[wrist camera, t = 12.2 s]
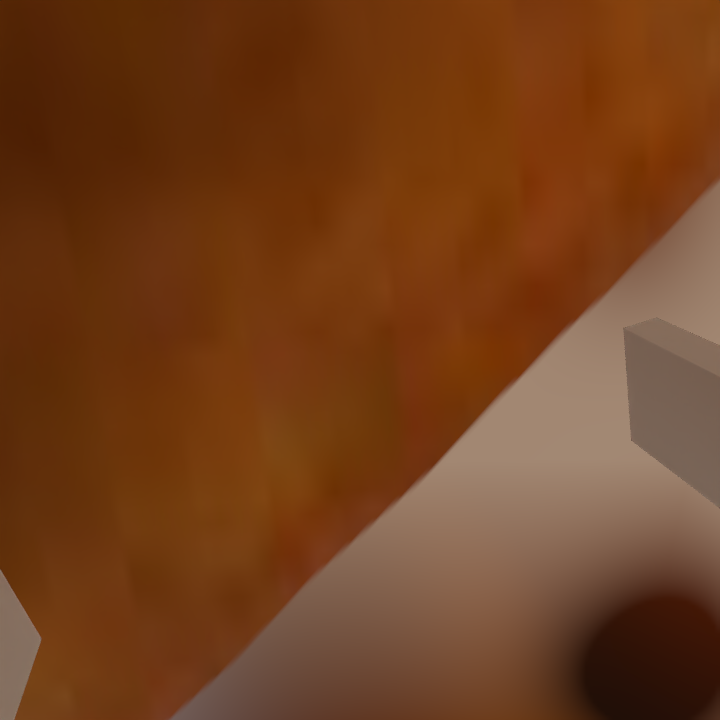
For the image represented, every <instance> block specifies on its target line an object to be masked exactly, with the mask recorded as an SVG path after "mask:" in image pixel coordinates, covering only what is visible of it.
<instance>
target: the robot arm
mask: <svg viewBox="0 0 720 720" xmlns="http://www.w3.org/2000/svg"><path fill="white" fill-rule="evenodd" d="M624 341H625V357H626V371H627V386H628V400H629V414H630V429H631V440H632V441H633V442H634V443H635V444H637V445H638V446H639V447H641V448H642V449H643V450H644V451H646V452H647V453H648V454H650V455H651V456H652V457H654V458H655V459H656V460H658V461H659V462H660V463H661V464H663V465H664V466H665V467H667V468H668V469H669V470H671V471H672V472H673V473H675V474H676V475H677V476H678V477H680V478H681V479H682V480H684V481H685V482H686V483H688V484H689V485H690V486H691V487H693V488H694V489H696V490H697V491H698V492H699V493H701V494H702V495H703V496H704V497H706V498H707V499H709V500H710V501H711V502H713V503H714V504H715V505H716V506H718V507H719V508H720V345H717V344H715V343H713V342H711V341H708V340H706V339H704V338H702V337H700V336H697V335H695V334H693V333H690V332H688V331H686V330H684V329H681V328H679V327H677V326H675V325H672V324H670V323H668V322H666V321H663V320H661V319H659V318H654V319H651V320H648V321H644V322H641V323H638V324H635V325H632V326H629V327H625V328H624ZM40 642H41V637H40V636H39V634H38V632H37V630H36V629H35V627H34V625H33V624H32V622H31V620H30V619H29V617H28V615H27V614H26V612H25V610H24V609H23V607H22V605H21V604H20V602H19V600H18V599H17V597H16V595H15V593H14V592H13V590H12V588H11V587H10V585H9V583H8V582H7V580H6V578H5V577H4V575H3V573H2V572H1V570H0V720H14V718H15V715H16V712H17V709H18V707H19V704H20V701H21V698H22V695H23V692H24V689H25V686H26V683H27V680H28V677H29V674H30V671H31V668H32V665H33V662H34V659H35V657H36V654H37V651H38V648H39V645H40Z"/></svg>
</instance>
